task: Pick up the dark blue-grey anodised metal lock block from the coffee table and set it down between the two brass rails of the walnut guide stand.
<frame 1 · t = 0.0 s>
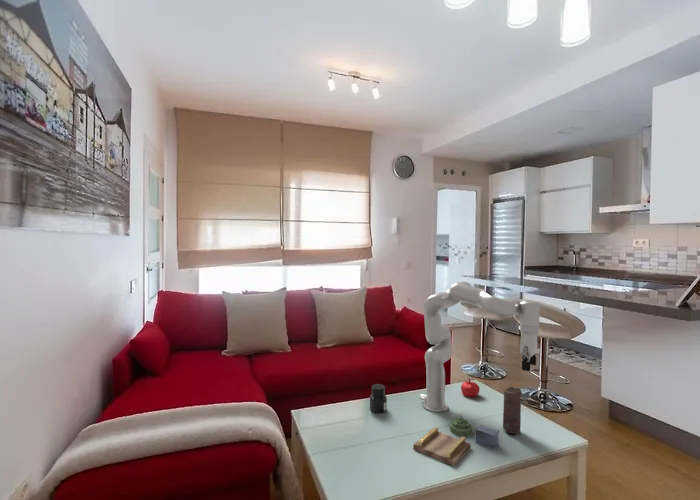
hand: (529, 367, 160), 31 cm above the table, fingers open, 9 cm apart
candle: (511, 432, 166), on the table
channel stand: (442, 448, 152), on the table
lock block: (487, 443, 156), on the table
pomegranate: (470, 395, 205), on the table
decorative artifact: (460, 431, 167), on the table
ink bottle: (378, 410, 187), on the table
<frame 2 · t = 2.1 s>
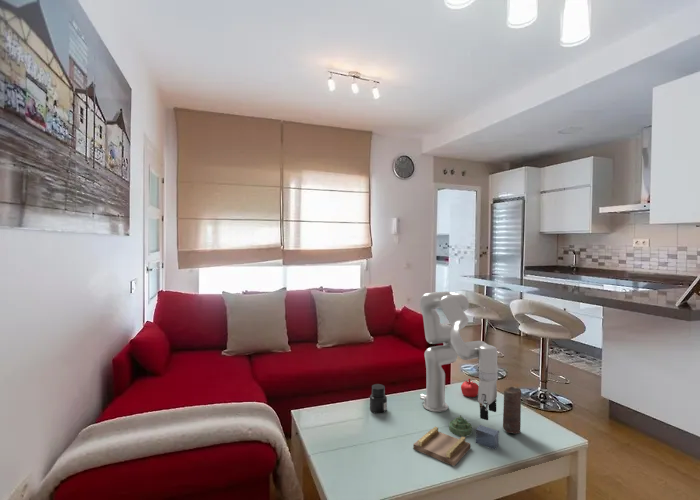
hand: (488, 414, 155), 13 cm above the table, fingers open, 9 cm apart
nothing on the table moved.
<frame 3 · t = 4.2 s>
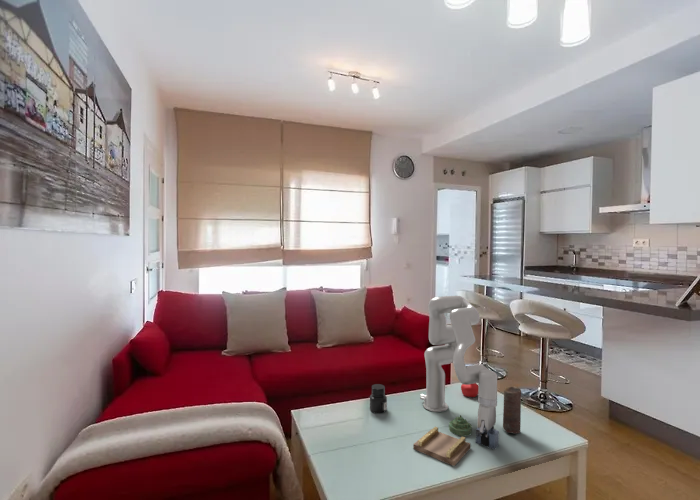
hand: (487, 441, 156), 1 cm above the table, fingers closed on lock block, 5 cm apart
lock block: (487, 443, 156), on the table, touching gripper
everything else where it was.
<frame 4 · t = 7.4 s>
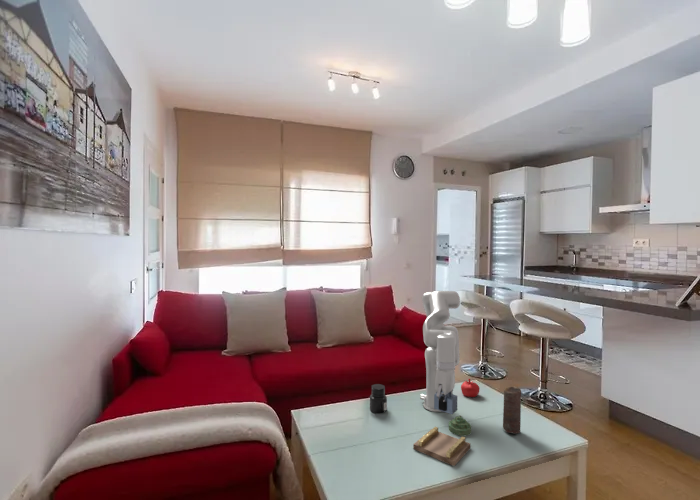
hand: (445, 407, 152), 17 cm above the table, fingers closed on lock block, 5 cm apart
lock block: (445, 409, 152), point 17 cm above the table, touching gripper
everything else where it was.
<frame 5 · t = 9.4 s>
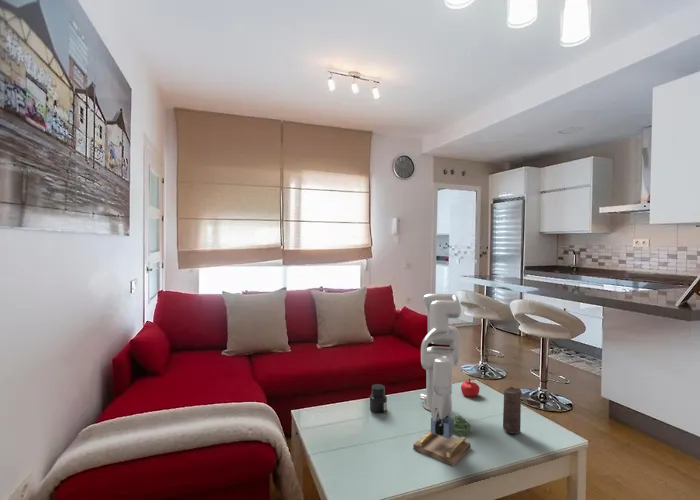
hand: (442, 431, 152), 7 cm above the table, fingers closed on lock block, 5 cm apart
lock block: (442, 433, 152), point 7 cm above the table, touching gripper
everything else where it was.
when the fingers open (4 cm above the table, at t = 10.9 s): lock block drops 1 cm, resting on channel stand.
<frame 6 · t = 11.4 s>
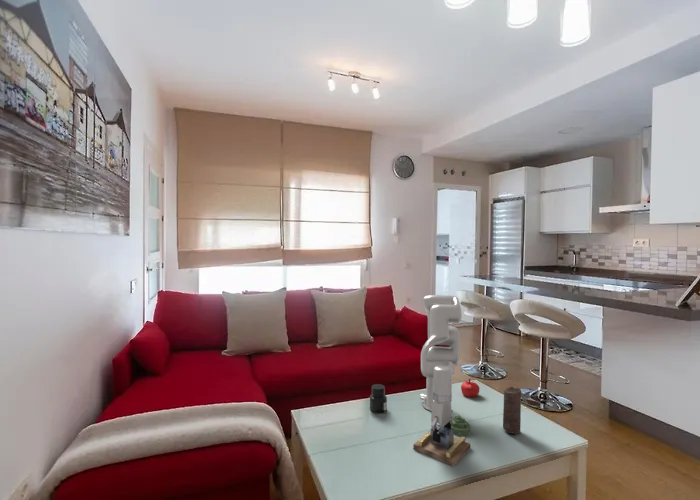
hand: (442, 436, 152), 5 cm above the table, fingers open, 9 cm apart
lock block: (442, 443, 152), point 2 cm above the table, touching channel stand
everything else where it was.
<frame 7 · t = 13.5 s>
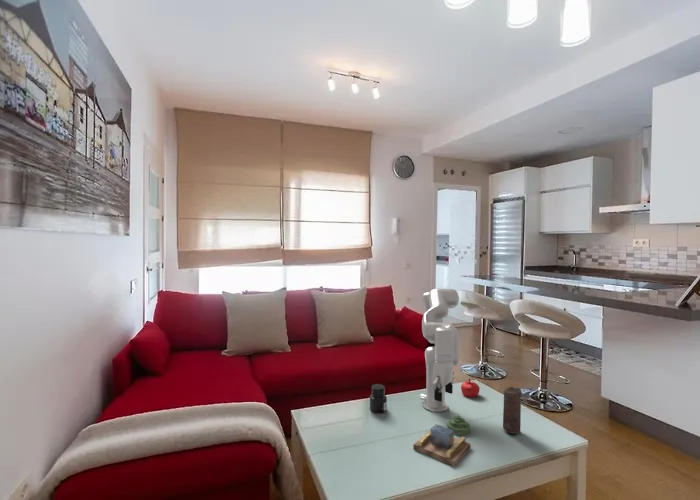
hand: (443, 396, 154), 21 cm above the table, fingers open, 9 cm apart
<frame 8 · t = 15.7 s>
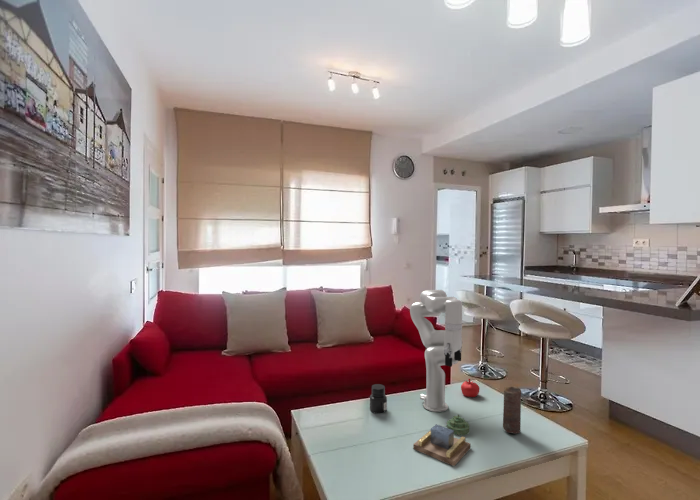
hand: (453, 363, 168), 30 cm above the table, fingers open, 9 cm apart
at the end: lock block 0.0 cm off-centre on the channel stand, point 2.0 cm above the channel stand's base; lock block tilted 0°; the gripper is holding nothing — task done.
